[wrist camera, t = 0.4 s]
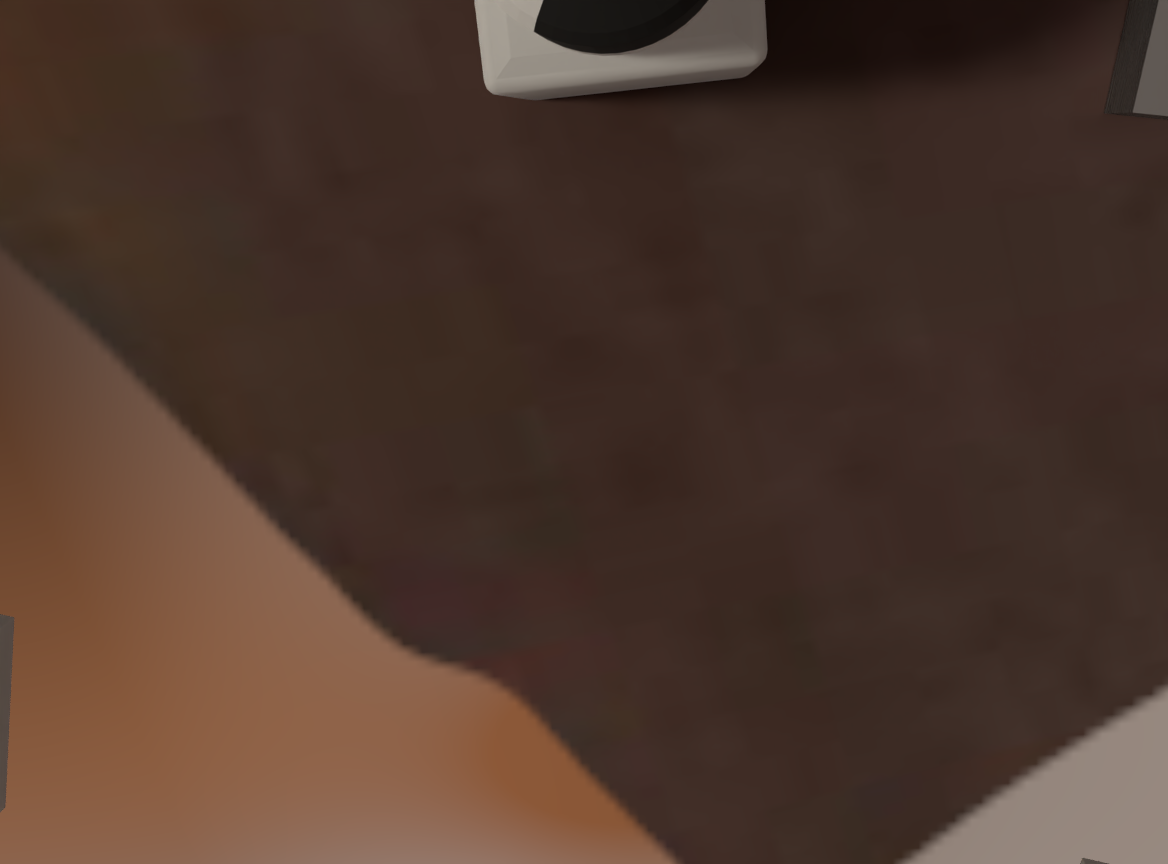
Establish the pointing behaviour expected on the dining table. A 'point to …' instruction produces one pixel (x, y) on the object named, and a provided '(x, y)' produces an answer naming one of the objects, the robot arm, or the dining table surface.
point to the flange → (1142, 63)
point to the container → (615, 44)
